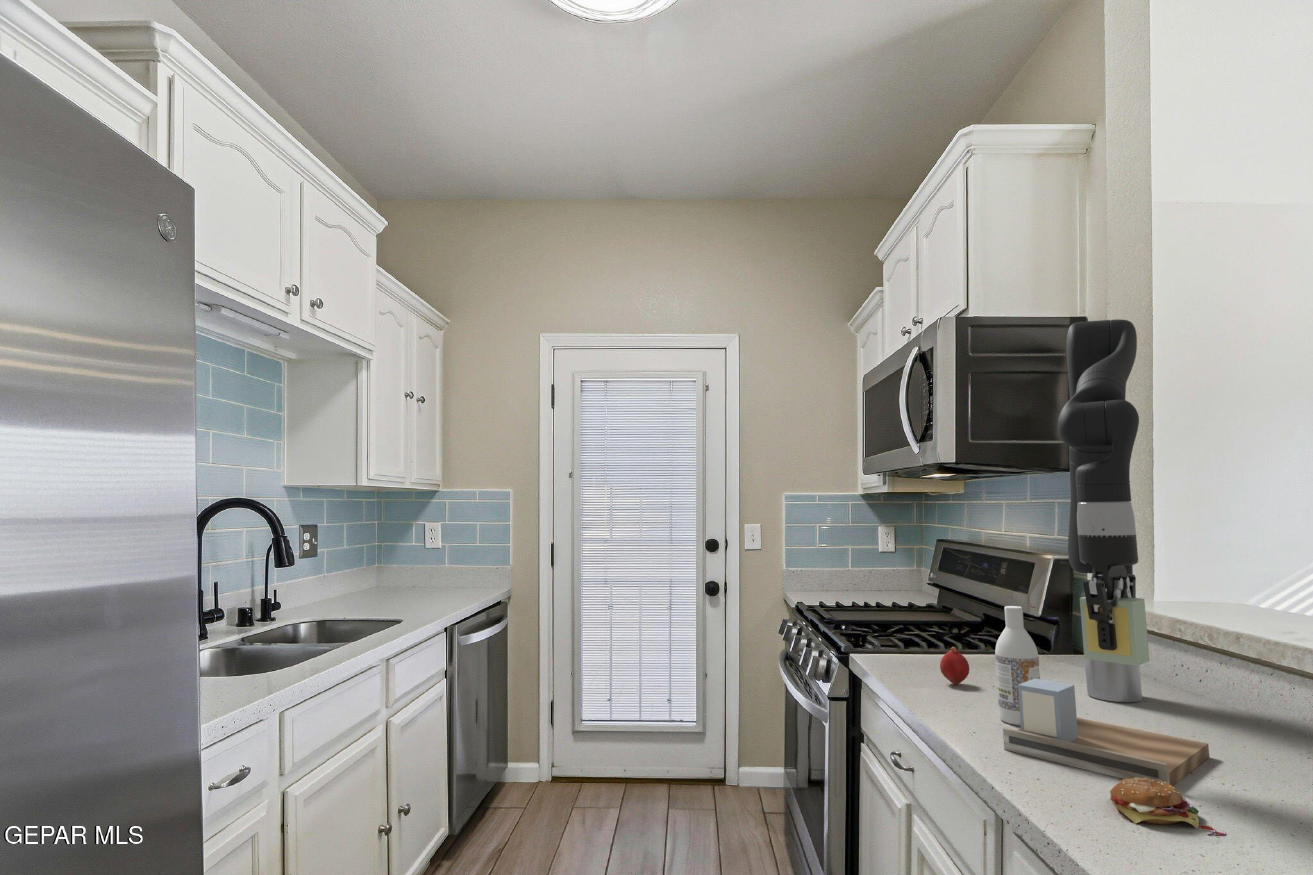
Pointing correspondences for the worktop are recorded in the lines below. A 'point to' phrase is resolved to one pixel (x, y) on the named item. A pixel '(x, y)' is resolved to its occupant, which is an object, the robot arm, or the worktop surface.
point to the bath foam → (1014, 664)
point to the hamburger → (1154, 803)
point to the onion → (954, 666)
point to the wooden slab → (1114, 751)
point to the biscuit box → (1048, 709)
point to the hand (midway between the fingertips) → (1115, 646)
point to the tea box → (1119, 634)
